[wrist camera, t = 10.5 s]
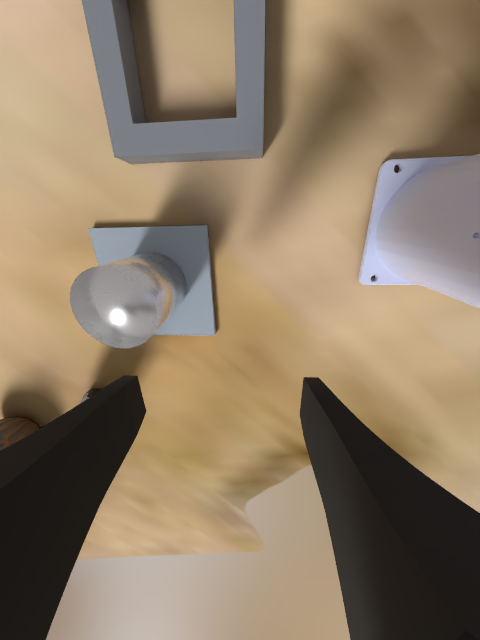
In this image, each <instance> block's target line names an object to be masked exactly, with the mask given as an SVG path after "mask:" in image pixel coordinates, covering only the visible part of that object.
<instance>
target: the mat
mask: <svg viewBox="0 0 480 640" xmlns="http://www.w3.org/2000/svg"><path fill="white" fill-rule="evenodd" d="M88 229H89V233H90V236H91V240H92V244H93V247H94V251H95V254H96V258H97V262H98V265H99V266H100V265H104V264H107V263H111V262H114V261H117V260H121V259H124V258H128V257H131V256H135V255H138V254H142V253H146V252H157V253H161V254H164V255H166V256H168V257H169V258H171V259H172V260H173V261H174V262H176V263H177V265H178V266H179V267H180V268H181V270H182V272H183V274H184V276H185V280H186V294H185V297H184V299H183V301H182V303H181V304H180V305H179V306H178V307H177V308H176V309H175V310H174V312H173V313H172V314H171V315H170V316H169V317H168V318H167V319H166V320H165V321H164V323H163V324H162V325H161V326H160V327H159V328H158V329H157V330H156V331H155V333H154V334H153V335H215V334H216V327H215V314H214V301H213V288H212V276H211V263H210V250H209V237H208V225H197V226H159V227H121V228H88Z"/></svg>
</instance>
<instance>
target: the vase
mask: <svg viewBox="0 0 480 640" xmlns="http://www.w3.org/2000/svg"><path fill="white" fill-rule="evenodd" d="M39 429H40V428H39V427H38V426H37V425H36V424H35V423H34V422H32V421H30V420H28V419H25V418H20V417H14V418H5V419H1V420H0V451H1V450H3V449H4V448H6V447H8V446H10V445H12V444H14V443H15V442H17V441H19V440H21V439H23V438H25V437H26V436H28V435H30V434H32V433H33V432H35V431H37V430H39Z"/></svg>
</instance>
